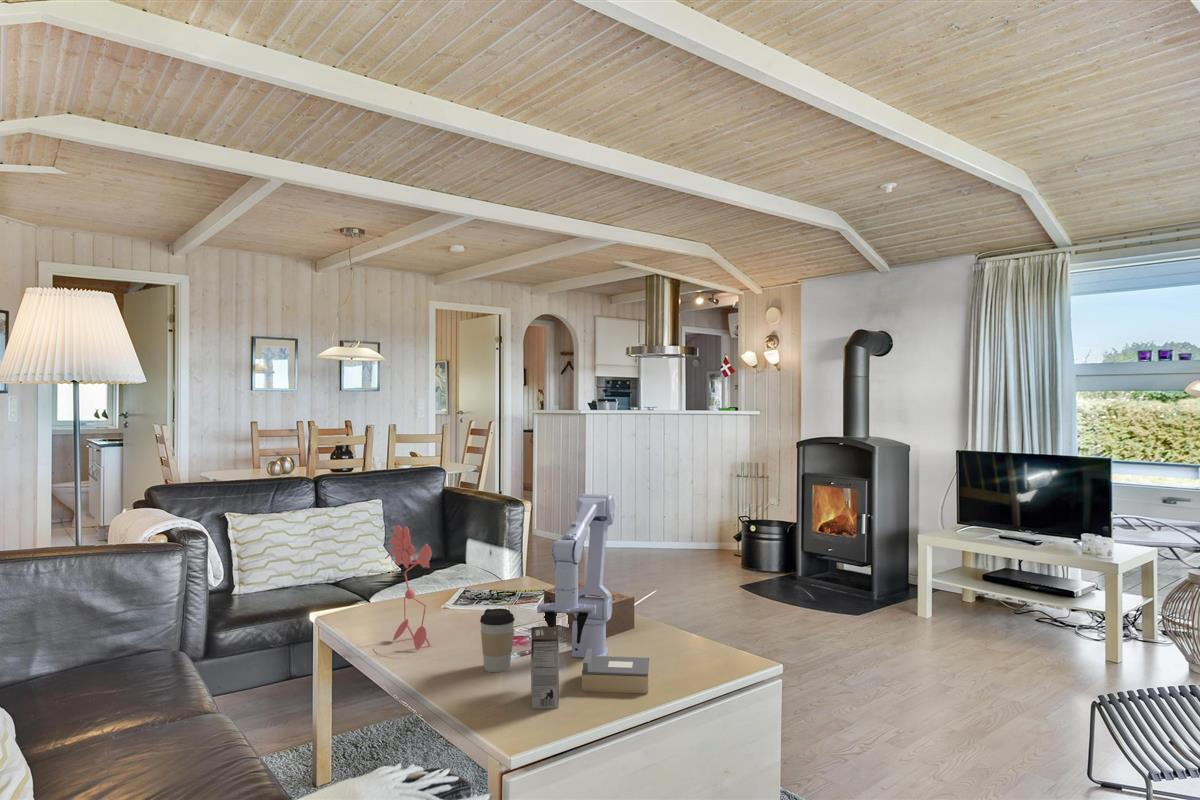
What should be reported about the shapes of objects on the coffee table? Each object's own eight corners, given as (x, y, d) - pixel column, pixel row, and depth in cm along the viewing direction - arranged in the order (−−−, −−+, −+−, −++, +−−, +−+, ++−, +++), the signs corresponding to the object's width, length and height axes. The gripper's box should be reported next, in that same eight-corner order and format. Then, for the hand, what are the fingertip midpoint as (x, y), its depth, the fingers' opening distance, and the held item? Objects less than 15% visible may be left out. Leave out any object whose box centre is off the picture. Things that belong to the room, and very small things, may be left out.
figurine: (403, 630, 223) (401, 516, 223) (448, 652, 204) (445, 527, 204) (354, 643, 213) (352, 523, 212) (397, 667, 194) (395, 535, 193)
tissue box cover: (543, 621, 234) (543, 590, 234) (576, 612, 244) (576, 582, 244) (602, 640, 216) (602, 606, 216) (634, 629, 226) (634, 596, 226)
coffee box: (531, 693, 176) (531, 626, 176) (558, 692, 176) (558, 625, 176) (530, 709, 167) (530, 638, 167) (559, 708, 167) (559, 637, 167)
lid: (581, 673, 177) (581, 663, 177) (586, 657, 188) (586, 648, 188) (648, 675, 176) (648, 665, 176) (649, 659, 187) (649, 649, 187)
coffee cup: (520, 663, 196) (520, 607, 196) (505, 675, 187) (505, 617, 187) (489, 659, 199) (490, 604, 199) (473, 671, 190) (473, 613, 190)
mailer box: (581, 691, 177) (581, 674, 177) (586, 674, 188) (586, 658, 188) (648, 693, 176) (648, 676, 176) (649, 676, 187) (649, 660, 187)
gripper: (535, 591, 180) (535, 646, 180) (593, 592, 178) (593, 648, 178) (540, 583, 187) (540, 637, 187) (596, 585, 185) (596, 638, 185)
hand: (566, 642), depth 183 cm, fingers open, 5 cm apart
